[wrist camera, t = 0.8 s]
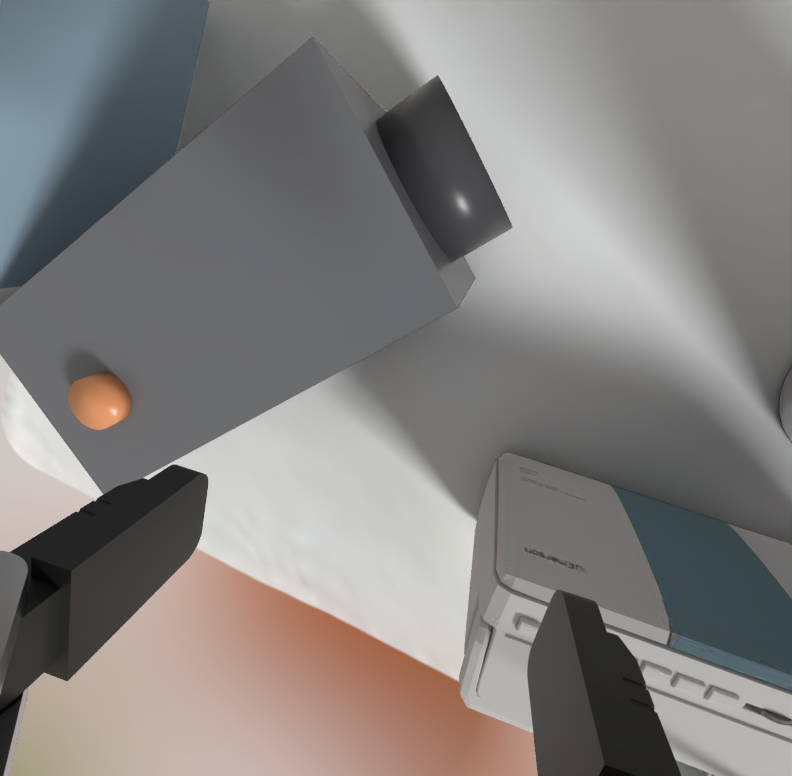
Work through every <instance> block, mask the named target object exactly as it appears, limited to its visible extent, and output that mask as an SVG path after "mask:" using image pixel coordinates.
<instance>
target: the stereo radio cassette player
mask: <svg viewBox="0 0 792 776" xmlns="http://www.w3.org/2000/svg"><path fill="white" fill-rule="evenodd" d="M557 590H562V591H565V592H568V593H571V594H575V595H578V596H581V597H584V598H587V599H590V600H593V601H595V602H596V603H597V605H598V607H599V610H600V613H601V616H602V619H603V622H604V625H605V628H606V631H607V632H609V633H612V634H615V635H618V636H619V637H620V639H621V640H622V641H623V643H624V644H625V645H626V647H627V648H628V649H629V650H630V652H631V653H632V654H633V656H634V657H635V658H636V660H637V662H638V665H639V667H640V670H641V672H642V675H643V677H644V680H645V683H646V690H649V693H650V696H651V698H652V701H653V703H654V706H655V708H654V711H655V712H657V714H658V716H659V719H660V721H661V724H662V727H663V729H664V732H665V734H666V737H667V739H668V742H669V745H670V747H671V750H672V752H673V755H674V757H675V760H676V763H677V765H678V768H679V770H680V773H681V776H792V544H789V543H786V542H783V541H780V540H777V539H774V538H771V537H768V536H765V535H762V534H758V533H755V532H752V531H749V530H746V529H743V528H740V527H737V526H734V525H731V524H728V523H725V522H722V521H719V520H716V519H713V518H710V517H707V516H704V515H701V514H698V513H695V512H692V511H689V510H686V509H683V508H679V507H676V506H673V505H670V504H667V503H664V502H661V501H658V500H655V499H652V498H649V497H646V496H643V495H640V494H636V493H633V492H630V491H627V490H624V489H621V488H618V487H615V486H612V485H608V484H606V483H603V482H599V481H596V480H593V479H590V478H587V477H584V476H581V475H578V474H575V473H572V472H569V471H566V470H563V469H559V468H556V467H553V466H550V465H547V464H544V463H541V462H538V461H535V460H532V459H529V458H526V457H522V456H519V455H516V454H512V453H504V454H503V455H502V456H501V457H500V458H498V459H497V460H496V461H495V463H494V466H493V469H492V471H491V474H490V477H489V479H488V482H487V485H486V488H485V491H484V495H483V498H482V501H481V505H480V509H479V514H478V519H477V524H476V529H475V538H474V549H473V560H472V570H471V581H470V592H469V603H468V614H467V625H466V635H465V651H464V654H465V656H464V659H463V663H462V667H461V671H460V675H459V685H460V694H461V696H462V698H463V700H464V702H465V704H466V706H467V707H468V708H471V709H473V710H476V711H478V712H481V713H483V714H486V715H488V716H491V717H494V718H496V719H499V720H501V721H504V722H506V723H509V724H511V725H514V726H516V727H519V728H521V729H524V730H526V731H529V732H531V733H533V725H532V715H531V706H530V697H529V688H528V678H527V668H528V659H529V653H530V649H531V646H532V643H533V641H534V639H535V636H536V634H537V631H538V629H539V627H540V624H541V622H542V620H543V617H544V615H545V612H546V610H547V608H548V605H549V603H550V601H551V598H552V596H553V594H554V593H555V592H556V591H557Z"/></svg>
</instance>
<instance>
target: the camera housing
mask: <svg viewBox="0 0 792 776" xmlns="http://www.w3.org/2000/svg"><path fill="white" fill-rule="evenodd" d="M511 228H512V225H511V223H510V220H509V218H508V216H507V213H506V211H505V209H504V207H503V205H502V203H501V200H500V198H499V196H498V194H497V192H496V190H495V188H494V186H493V183H492V181H491V179H490V177H489V175H488V173H487V171H486V169H485V167H484V165H483V163H482V161H481V159H480V157H479V154H478V152H477V150H476V148H475V146H474V144H473V142H472V140H471V138H470V136H469V134H468V132H467V130H466V128H465V126H464V124H463V122H462V120H461V118H460V116H459V114H458V112H457V110H456V108H455V106H454V104H453V102H452V100H451V98H450V97H449V95H448V93H447V91H446V89H445V87H444V85H443V83H442V81H441V80H440V78H439V76H438V75H437V76H436V77H434V78H433V79H432V80H430V81H429V82H428V83H426V84H425V85H424V86H422V87H421V88H419V89H418V90H417V91H415V92H414V93H413V94H411V95H410V96H409V97H407V98H406V99H405V100H403V101H402V102H401V103H399V104H398V105H396V106H395V107H394V108H392V109H391V110H390V111H388V112H387V113H386V112H385V111H384V110H383V109H382V108H381V107H380V106H379V105H378V104H377V103H376V102H375V101H374V100H373V99H372V98H371V97H370V96H369V95H368V94H367V93H366V92H365V91H364V90H363V89H362V87H361V86H360V85H359V84H358V83H357V82H356V81H355V80H354V79H353V78H352V77H351V76H350V75H349V74H348V73H347V72H346V71H345V70H344V69H343V68H342V67H341V66H340V65H339V64H338V62H337V61H336V60H335V59H334V58H333V57H332V56H331V55H330V54H329V53H328V52H327V51H326V50H325V49H324V48H323V47H322V46H321V45H320V44H319V43H318V42H317V41H316V40H315V39H314V37H312V38H311V39H310V40H309V41H308V42H306V43H305V44H304V45H303V46H302V47H301V48H299V49H298V50H297V51H296V52H295V53H294V54H292V55H291V56H290V57H289V58H288V59H287V60H285V61H284V62H283V63H282V64H281V65H280V66H278V67H277V68H276V69H275V70H274V71H273V72H271V73H270V74H269V75H268V76H267V77H266V78H264V79H263V80H262V81H261V82H260V83H259V84H257V85H256V86H255V87H254V88H253V89H252V90H250V91H249V92H248V93H247V94H246V95H245V96H243V97H242V98H241V99H240V100H239V101H238V102H236V103H235V104H234V105H233V106H232V107H231V108H229V109H228V110H227V111H226V112H225V113H224V114H222V115H221V116H220V117H219V118H218V119H217V120H215V121H214V122H213V123H212V124H211V125H210V126H208V127H207V128H206V129H205V130H204V131H203V132H201V133H200V134H199V135H198V136H197V137H196V138H194V139H193V140H192V141H191V142H190V143H189V144H187V145H186V146H185V147H184V148H183V149H182V150H180V151H179V152H178V153H177V154H176V155H175V156H173V157H172V158H171V159H170V160H169V161H168V162H166V163H165V164H164V165H163V166H162V167H161V168H159V169H158V170H157V171H156V172H155V173H154V174H152V175H151V176H150V177H149V178H148V179H147V180H145V181H144V182H143V183H142V184H141V185H140V186H138V187H137V188H136V189H135V190H134V191H133V192H131V193H130V194H129V195H128V196H127V197H126V198H125V199H123V200H122V201H121V202H120V203H119V204H118V205H116V206H115V207H114V208H113V209H112V210H111V211H109V212H108V213H107V214H106V215H105V216H104V217H102V218H101V219H100V220H99V221H98V222H97V223H95V224H94V225H93V226H92V227H91V228H90V229H88V230H87V231H86V232H85V233H84V234H83V235H81V236H80V237H79V238H78V239H77V240H76V241H74V242H73V243H72V244H71V245H70V246H69V247H67V248H66V249H65V250H64V251H63V252H62V253H60V254H59V255H58V256H57V257H56V258H55V259H53V260H52V261H51V262H50V263H49V264H48V265H46V266H45V267H44V268H43V269H42V270H41V271H39V272H38V273H37V274H36V275H35V276H34V277H32V278H31V279H30V280H29V281H28V282H27V283H25V284H24V285H23V286H22V287H21V288H20V289H18V290H17V291H16V292H15V293H14V294H13V295H11V296H10V297H9V298H8V299H7V300H6V301H4V302H3V303H2V304H1V305H0V354H1V356H2V357H3V358H4V359H5V361H6V362H7V364H8V365H9V366H10V368H11V369H12V371H13V372H14V373H15V375H16V376H17V377H18V379H19V380H20V381H21V383H22V384H23V386H24V387H25V388H26V390H27V391H28V392H29V394H30V395H31V396H32V398H33V399H34V400H35V402H36V403H37V405H38V406H39V407H40V409H41V410H42V411H43V413H44V414H45V415H46V417H47V418H48V419H49V421H50V422H51V424H52V425H53V426H54V428H55V429H56V430H57V432H58V433H59V434H60V436H61V437H62V439H63V440H64V441H65V443H66V444H67V445H68V447H69V448H70V449H71V451H72V452H73V453H74V455H75V456H76V458H77V459H78V460H79V462H80V463H81V464H82V466H83V467H84V468H85V470H86V471H87V473H88V474H89V475H90V477H91V478H92V479H93V481H94V482H95V483H96V485H97V486H98V487H99V489H100V490H101V492H102V493H103V494H105V493H107V492H109V491H110V490H112V489H113V488H115V487H117V486H119V485H122V484H126V483H129V482H132V481H135V480H139V479H141V478H143V477H145V476H147V475H149V474H151V473H152V472H154V471H156V470H158V469H160V468H162V467H164V466H165V465H167V464H169V463H171V462H173V461H175V460H177V459H178V458H180V457H182V456H184V455H186V454H188V453H190V452H191V451H193V450H195V449H197V448H199V447H201V446H202V445H204V444H206V443H208V442H210V441H212V440H214V439H215V438H217V437H219V436H221V435H223V434H225V433H227V432H228V431H230V430H232V429H234V428H236V427H238V426H240V425H241V424H243V423H245V422H247V421H249V420H251V419H253V418H254V417H256V416H258V415H260V414H262V413H264V412H266V411H267V410H269V409H271V408H273V407H275V406H277V405H278V404H280V403H282V402H284V401H286V400H288V399H290V398H291V397H293V396H295V395H297V394H299V393H301V392H303V391H304V390H306V389H308V388H310V387H312V386H314V385H316V384H317V383H319V382H321V381H323V380H325V379H327V378H329V377H330V376H332V375H334V374H336V373H338V372H340V371H341V370H343V369H345V368H347V367H349V366H351V365H353V364H354V363H356V362H358V361H360V360H362V359H364V358H366V357H367V356H369V355H371V354H373V353H375V352H377V351H379V350H380V349H382V348H384V347H386V346H388V345H390V344H392V343H393V342H395V341H397V340H399V339H401V338H403V337H405V336H406V335H408V334H410V333H412V332H414V331H416V330H417V329H419V328H421V327H423V326H425V325H427V324H429V323H430V322H432V321H434V320H436V319H438V318H440V317H442V316H443V315H445V314H447V313H449V312H451V311H453V310H455V309H456V308H458V306H459V305H460V303H461V301H462V300H463V298H464V296H465V295H466V293H467V292H468V290H469V288H470V287H471V285H472V283H473V282H474V280H475V277H474V275H473V273H472V271H471V269H470V267H469V265H468V263H467V261H466V260H465V258H464V256H465V255H466V254H468V253H470V252H472V251H473V250H475V249H477V248H478V247H480V246H482V245H484V244H485V243H487V242H489V241H491V240H492V239H494V238H496V237H497V236H499V235H501V234H503V233H504V232H506V231H508V230H510V229H511Z"/></svg>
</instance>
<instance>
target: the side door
mask: <svg viewBox="0 0 792 776" xmlns="http://www.w3.org/2000/svg"><path fill="white" fill-rule="evenodd" d="M209 3H210V2H208V1H207V0H0V305H1V304H2V303H3V302H4V301H6V300H7V299H8V298H9V297H10V296H11V295H13V294H14V293H15V292H16V291H17V290H18V289H20V288H21V287H22V286H23V285H24V284H25V283H27V282H28V281H29V280H30V279H31V278H32V277H34V276H35V275H36V274H37V273H38V272H39V271H41V270H42V269H43V268H44V267H45V266H46V265H48V264H49V263H50V262H51V261H52V260H53V259H55V258H56V257H57V256H58V255H59V254H60V253H62V252H63V251H64V250H65V249H66V248H67V247H69V246H70V245H71V244H72V243H73V242H74V241H76V240H77V239H78V238H79V237H80V236H81V235H83V234H84V233H85V232H86V231H87V230H88V229H90V228H91V227H92V226H93V225H94V224H95V223H97V222H98V221H99V220H100V219H101V218H102V217H104V216H105V215H106V214H107V213H108V212H109V211H111V210H112V209H113V208H114V207H115V206H116V205H118V204H119V203H120V202H121V201H122V200H123V199H125V198H126V197H127V196H128V195H129V194H130V193H131V192H133V191H134V190H135V189H136V188H137V187H138V186H140V185H141V184H142V183H143V182H144V181H145V180H147V179H148V178H149V177H150V176H151V175H152V174H154V173H155V172H156V171H157V170H158V169H159V168H161V167H162V166H163V165H164V164H165V163H166V162H168V161H169V160H170V159H171V158H172V157H173V156H175V152H176V147H177V143H178V139H179V134H180V130H181V126H182V121H183V117H184V112H185V108H186V104H187V99H188V95H189V90H190V86H191V82H192V77H193V73H194V68H195V64H196V60H197V55H198V51H199V47H200V42H201V38H202V33H203V29H204V25H205V20H206V16H207V11H208V7H209Z"/></svg>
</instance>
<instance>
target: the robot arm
mask: <svg viewBox="0 0 792 776" xmlns="http://www.w3.org/2000/svg"><path fill="white" fill-rule="evenodd" d="M780 417H781V421H782V425H783V429H784V430H785V432H786V434H787V435H788V437H789V439H790V440H791V442H792V368H791V370H790V372H789V374H788V375H787V377H786V379H785V381H784V384H783V388H782V392H781V395H780ZM207 489H208V477H207V475H206V474H203V473H200V472H197V471H194V470H191V469H187V468H184V467H181V466H178V465H171V466H169V467H168V468H166V469H164V470H163V471H161V472H160V473H158V474H157V475H155V476H154V477H152V478H151V479H149V480H147V479H144V478H142V479H139V480H135V481H132V482H129V483H126V484H122V485H119V486H117V487H115V488H113V489H112V490H110V491H109V492H107V493H105V494H104V495H102V496H100V497H99V498H97V500H96V502H94V501H92V502H91V503H89V504H87V505H86V506H84V507H83V508H81V509H80V511H79V512H75V513H73V514H71V515H70V516H68V517H66V518H65V519H63V520H61V521H60V522H58V523H57V524H55V525H53V526H52V527H50V528H48V529H47V530H45V531H44V532H42V533H40V534H39V535H37V536H35V537H34V538H32V539H31V540H29V541H27V542H26V543H24V544H23V545H21V546H19V547H18V548H16V549H14V550H13V551H11V552H5V551H0V776H9V775H10V771H11V766H12V762H13V758H14V753H15V749H16V744H17V740H18V736H19V732H20V727H21V723H22V718H23V714H24V710H25V706H26V701H27V694H28V687H29V686H30V685H31V684H32V683H33V682H34V681H35V680H36V679H37V678H38V677H39V676H40V675H42V674H43V673H44V672H45V673H47V674H50V675H52V676H55V677H58V678H60V679H63V680H65V681H68V680H69V679H70V678H71V677H72V676H73V675H74V674H75V673H76V672H77V671H78V670H79V669H80V668H81V667H82V666H83V665H84V664H85V663H86V662H87V661H88V660H89V659H90V658H91V657H92V656H93V655H94V654H95V653H96V652H97V651H98V650H99V649H100V648H101V647H102V646H103V645H104V643H106V642H107V641H108V640H109V639H110V638H111V637H112V635H114V634H115V633H116V632H117V631H118V630H119V629H120V627H122V626H123V625H124V624H125V623H126V622H127V621H128V620H129V619H130V618H131V617H132V616H133V615H134V613H135V612H136V611H137V610H138V609H139V608H140V607H141V606H142V605H143V604H144V603H145V602H146V601H147V600H148V599H149V598H150V597H151V596H152V595H153V594H154V593H155V592H156V591H157V590H158V589H159V588H160V587H161V586H162V585H163V584H164V583H165V582H166V581H167V580H168V579H169V578H170V577H171V576H172V575H173V574H174V573H175V572H176V571H177V570H178V569H179V568H180V567H181V566H182V565H183V564H184V563H185V562H186V561H187V560H188V559H189V558H190V556H191V555H192V553H193V552H194V550H195V548H196V546H197V544H198V542H199V540H200V537H201V533H202V527H203V519H204V512H205V504H206V497H207ZM527 678H528V688H529V697H530V706H531V715H532V725H533V733H534V743H535V752H536V761H537V770H538V776H681V773H680V770H679V768H678V765H677V763H676V760H675V757H674V755H673V752H672V750H671V747H670V745H669V742H668V739H667V737H666V734H665V732H664V729H663V727H662V724H661V721H660V719H659V716H658V714H657V712H655V711H654V708H655V706H654V703H653V701H652V698H651V696H650V693H649V690H646V683H645V680H644V677H643V675H642V672H641V670H640V667H639V665H638V662H637V660H636V658H635V657H634V656H633V654H632V653H631V652H630V650H629V649H628V648H627V647H626V645H625V644H624V643H623V641H622V640H621V639H620V637H619V636H618V635H615V634H612V633H609V632H607V631H606V628H605V625H604V622H603V619H602V616H601V613H600V610H599V607H598V605H597V603H596V602H595V601H593V600H590V599H587V598H584V597H581V596H578V595H575V594H571V593H568V592H565V591H562V590H557V591H556V592H555V593H554V594H553V596H552V598H551V601H550V603H549V605H548V608H547V610H546V612H545V615H544V617H543V620H542V622H541V624H540V627H539V629H538V631H537V634H536V636H535V639H534V641H533V643H532V646H531V649H530V653H529V659H528V668H527Z"/></svg>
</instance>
